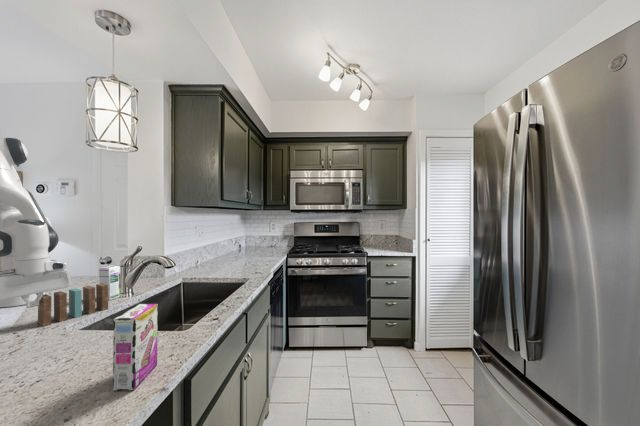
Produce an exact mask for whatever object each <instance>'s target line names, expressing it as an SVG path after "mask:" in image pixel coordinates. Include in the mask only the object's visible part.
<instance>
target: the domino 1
mask: <svg viewBox="0 0 640 426" xmlns="http://www.w3.org/2000/svg"><path fill="white" fill-rule="evenodd" d="M46 294H47V293H45V294H44V295H43V297H42V298H41V300H40V301H39V306H37V324H38V325H40V326H41V327H46V326H51V325H52V296H51V295H46Z"/></svg>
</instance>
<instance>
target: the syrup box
mask: <svg viewBox="0 0 640 426" xmlns="http://www.w3.org/2000/svg"><path fill="white" fill-rule="evenodd" d="M101 283H102V284H107V285H108V301H112V300H114V299H117V298H118V299H119V298H121V297H120V296H122V294H121V290H122V289H121V288H122V287H121V266H120V265H109V266H104V267H99V268H98V284H101Z"/></svg>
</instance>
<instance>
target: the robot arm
mask: <svg viewBox="0 0 640 426" xmlns="http://www.w3.org/2000/svg"><path fill="white" fill-rule="evenodd" d="M28 156H29V151H28V149H27V147H26V145H25V144H24V143H23V142H22V141H21V140H20V139H18V138H15V137H5V138H3V137H2V138H1V137H0V261H1V263H0V265H1V270H0V308H11V307H18V306H23V305H24V306H25V307H26V309H31V308H34V307H38V306H39V301H40V300H41V298H42V297H43V295H44V294H46V295H49V293H45V292H50V291H51V292H52V291H57V290H61V289H66V288H69V287H70V286H71V282H72V281H71V275H70V272H69V270H68V269H67V267H68V264H67V263H66V262H63V261H57V260H53V259H52V260H51V258H50V254H49V253H52V251H54V250H55V248H56V247H57V245H58V244H59V236H58V233H57V232H56V231H55V230H54V228H53V224H52V222H51V219H50V218H49V217H47V216H45V215H44V212H43V211H42V209H41V207H40V205H39V204H38V202H37V200H36V198H35V197H34V195H33V194H32V192H31V191H29V190H28V189H26V188H24V185H23V183H22V181H21V179H20V175H19V174H18V172H17V170H16V168H15V166H16V167H17V168H18V167H20V165H22V164H24V163H25V162H27V161H28ZM14 165H15V166H14ZM49 296H50V295H49Z"/></svg>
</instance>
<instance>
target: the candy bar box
mask: <svg viewBox="0 0 640 426" xmlns="http://www.w3.org/2000/svg"><path fill="white" fill-rule="evenodd" d="M158 308H159V306H158V303H139V304H137V305H136V306H134V307H132V308H130V309H129V310H126V311H125V312H124V313H121V314H119V315H118V316H117V317H115V318H113V346H112V347H113V350H112V351H113V352H112V353H113V360H112V362H113V365H112V391H113V392H123V391H122V390H133V391H135V390H136V389H137V388H138V387H137V386H139V385H141V383H142V382H143V381H144V380H145V379H146V378H147V377H148V376H149V374H150V373H151V372H152V371H153V370H154V369H155V368H156V367H157V365H158V319H159V317H158V313H159V311H158V310H159V309H158Z"/></svg>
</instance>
